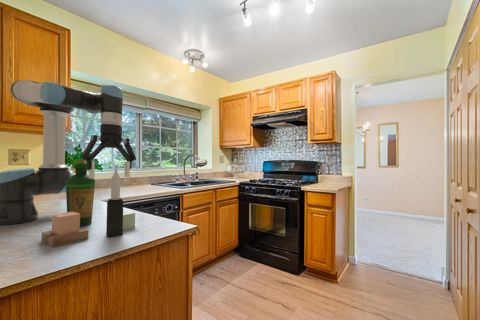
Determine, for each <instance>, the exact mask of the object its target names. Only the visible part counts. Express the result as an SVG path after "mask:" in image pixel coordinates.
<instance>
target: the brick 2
mask: <svg viewBox="0 0 480 320" xmlns="http://www.w3.org/2000/svg"><path fill="white" fill-rule="evenodd" d="M135 227H136V212H133V211H130V210H129V211H128V210H126V211H125V210H123V230H129V229H131V228H135Z"/></svg>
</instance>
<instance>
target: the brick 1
mask: <svg viewBox="0 0 480 320" xmlns="http://www.w3.org/2000/svg"><path fill="white" fill-rule="evenodd" d="M51 216H52V217H51V230H52V232H53V233H55V234H57V235H63V234H67V233H72V232H76V231H80V227H81V226H80V214H79V213H76V212H67V211H66V212H59V213H54V214H52V215H51Z"/></svg>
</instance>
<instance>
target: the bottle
mask: <svg viewBox="0 0 480 320" xmlns="http://www.w3.org/2000/svg"><path fill="white" fill-rule="evenodd" d="M86 163H87V162H86V160H84V159H77V160H76V162H75V163H74V166H73V169H74V170H75V174H73V176H71V177H70V178H68V180H67V181H66V192H65V195H66V197H65V198H66V212H76V213H79V214H80V227H84V226H87V225H90V224H92V220H93V210H94V199H95V198H94V197H95V186H96V179H95V178H94V179H90V178H89V173H88V170H87V168H86V166H87V165H86Z"/></svg>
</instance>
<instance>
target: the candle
mask: <svg viewBox="0 0 480 320" xmlns="http://www.w3.org/2000/svg"><path fill="white" fill-rule="evenodd" d="M118 173H119V172H118V169H117V168H115V169H114V172H113V175H112V176H111V182H110V183H111V185H110V187H111V188H110V189H111V190H110V198H109V199H108V200H107V202H106V232H105V234H106V237H107V238H116V237H120V236H122V235H124V234H123V212H124V200H123V198H122V197H121V176H120V175H119V174H118Z"/></svg>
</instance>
